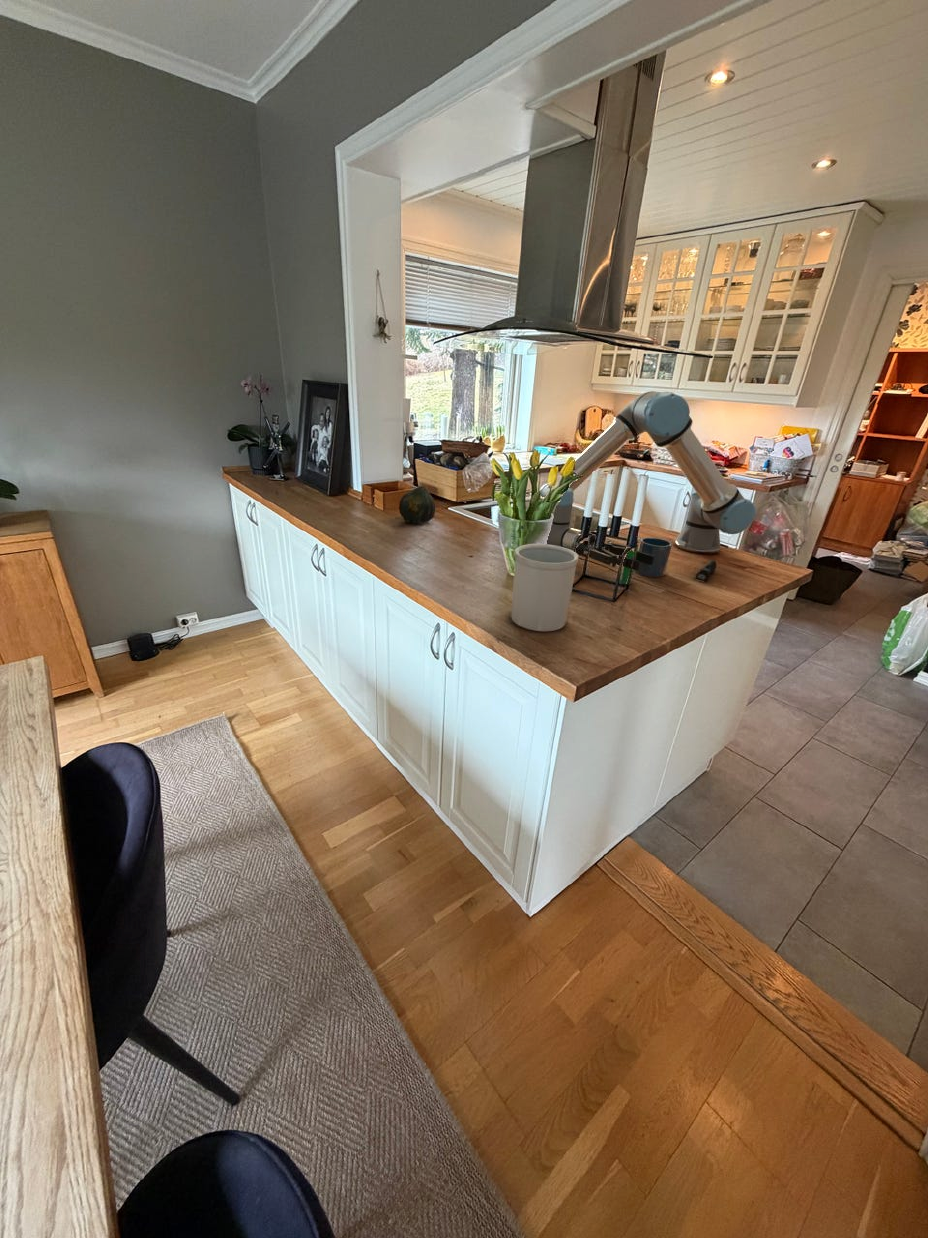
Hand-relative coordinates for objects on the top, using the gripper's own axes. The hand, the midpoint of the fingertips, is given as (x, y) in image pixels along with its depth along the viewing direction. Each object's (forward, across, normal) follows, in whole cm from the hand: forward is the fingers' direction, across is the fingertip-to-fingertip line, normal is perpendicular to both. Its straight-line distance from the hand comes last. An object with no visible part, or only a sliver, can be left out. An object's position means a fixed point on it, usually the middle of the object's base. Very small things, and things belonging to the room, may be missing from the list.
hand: (645, 563), depth 139 cm
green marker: (-5, 0, -8) cm, 9 cm away
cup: (-5, -15, -8) cm, 18 cm away
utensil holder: (-5, +40, -8) cm, 41 cm away
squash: (-96, +11, -8) cm, 97 cm away
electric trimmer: (+7, -28, -8) cm, 30 cm away
